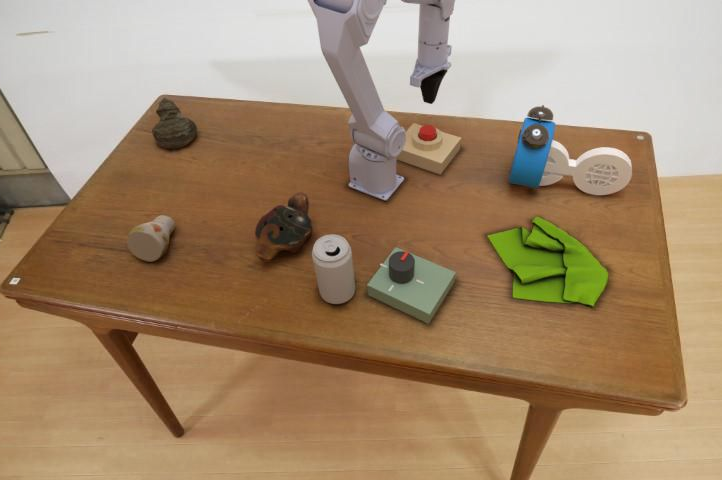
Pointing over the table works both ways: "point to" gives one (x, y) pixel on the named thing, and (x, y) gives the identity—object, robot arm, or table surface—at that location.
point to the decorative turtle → (284, 228)
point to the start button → (427, 133)
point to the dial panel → (413, 288)
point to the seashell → (172, 126)
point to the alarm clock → (533, 148)
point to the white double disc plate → (589, 169)
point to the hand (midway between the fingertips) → (429, 101)
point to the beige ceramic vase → (151, 238)
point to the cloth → (550, 265)
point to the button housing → (429, 150)
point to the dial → (401, 267)
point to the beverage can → (334, 268)
